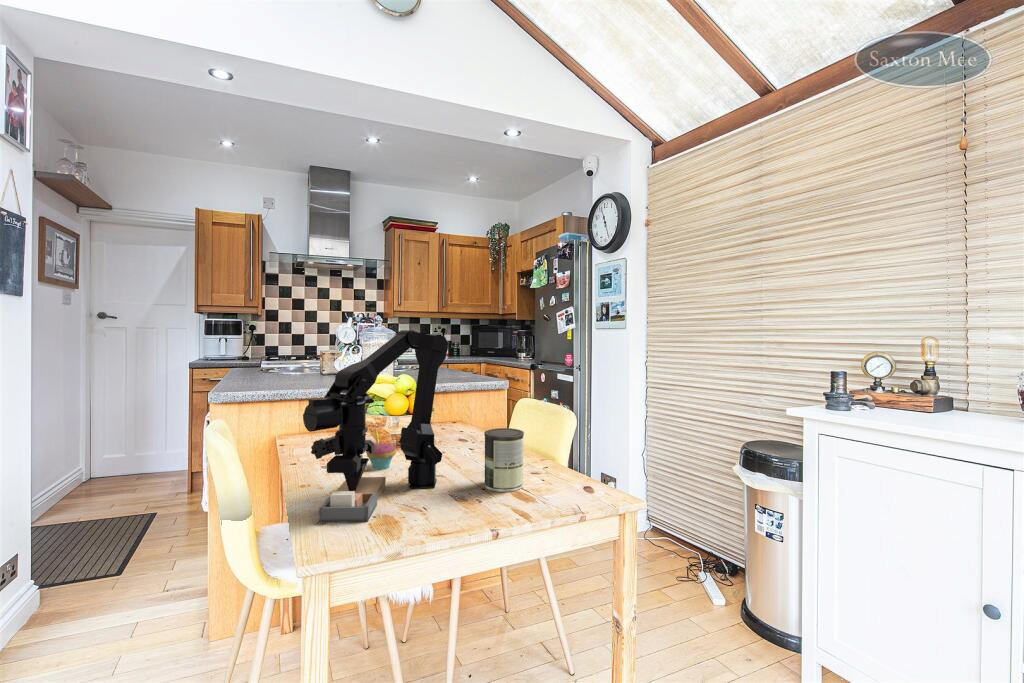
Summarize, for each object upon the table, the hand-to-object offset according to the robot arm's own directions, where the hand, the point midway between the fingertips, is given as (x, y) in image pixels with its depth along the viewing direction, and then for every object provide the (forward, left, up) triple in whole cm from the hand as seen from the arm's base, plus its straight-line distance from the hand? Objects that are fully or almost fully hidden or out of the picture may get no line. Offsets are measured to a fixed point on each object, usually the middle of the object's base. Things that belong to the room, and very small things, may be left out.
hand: (352, 492), depth 110 cm
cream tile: (+1, +4, 0) cm, 4 cm away
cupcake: (0, -32, -4) cm, 33 cm away
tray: (0, +4, -3) cm, 5 cm away
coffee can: (-35, -13, -4) cm, 38 cm away
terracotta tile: (0, +2, -3) cm, 3 cm away
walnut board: (0, -8, -3) cm, 9 cm away
